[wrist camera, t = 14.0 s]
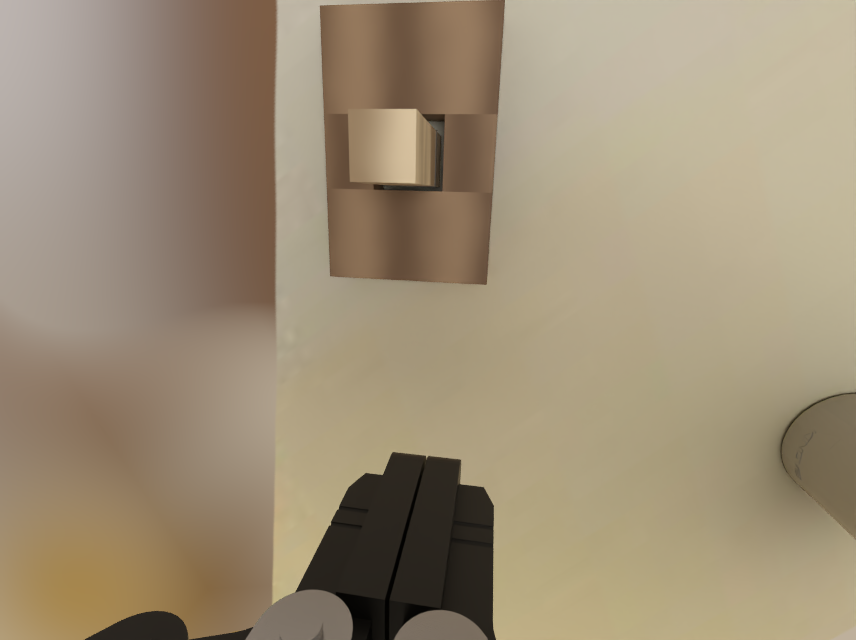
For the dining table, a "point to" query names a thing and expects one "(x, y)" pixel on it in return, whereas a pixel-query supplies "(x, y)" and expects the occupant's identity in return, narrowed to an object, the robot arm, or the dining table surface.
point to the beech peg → (393, 148)
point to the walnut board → (436, 101)
